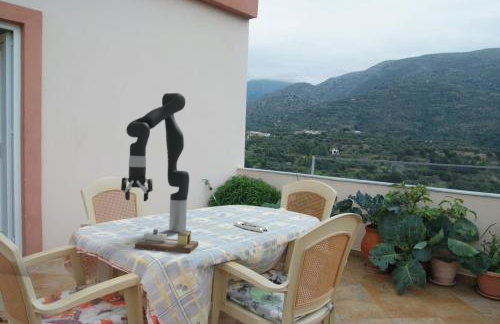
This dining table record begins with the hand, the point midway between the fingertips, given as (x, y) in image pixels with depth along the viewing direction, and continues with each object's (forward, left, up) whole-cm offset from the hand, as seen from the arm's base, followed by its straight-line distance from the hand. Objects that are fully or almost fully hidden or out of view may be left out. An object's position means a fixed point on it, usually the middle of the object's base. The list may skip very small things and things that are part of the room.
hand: (136, 200), depth 162 cm
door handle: (-53, +46, -21) cm, 74 cm away
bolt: (-1, +9, -18) cm, 21 cm away
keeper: (-1, +23, -19) cm, 30 cm away
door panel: (-1, +15, -21) cm, 26 cm away
